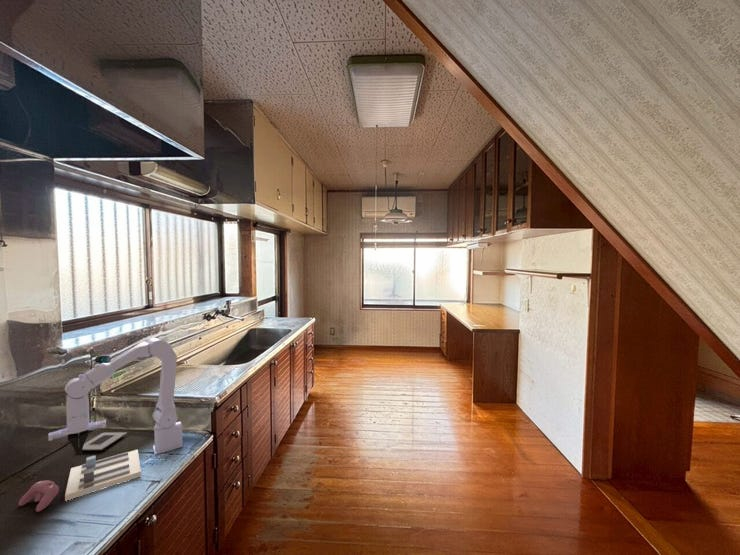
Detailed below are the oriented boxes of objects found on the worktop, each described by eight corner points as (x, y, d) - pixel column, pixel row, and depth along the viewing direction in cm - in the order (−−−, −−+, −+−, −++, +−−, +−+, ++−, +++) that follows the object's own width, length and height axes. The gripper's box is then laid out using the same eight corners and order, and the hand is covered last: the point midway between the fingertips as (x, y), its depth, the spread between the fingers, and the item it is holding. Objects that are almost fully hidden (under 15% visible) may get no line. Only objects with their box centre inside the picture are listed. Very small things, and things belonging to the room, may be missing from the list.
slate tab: (95, 463, 116) (95, 455, 116) (95, 466, 114) (95, 458, 114) (86, 466, 115) (86, 457, 115) (86, 469, 113) (86, 460, 113)
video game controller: (53, 510, 99) (65, 483, 102) (35, 513, 95) (48, 484, 98) (33, 503, 102) (45, 477, 105) (15, 505, 98) (28, 478, 101)
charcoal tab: (94, 477, 108) (93, 468, 108) (93, 480, 106) (93, 471, 106) (84, 480, 107) (84, 471, 107) (84, 483, 105) (83, 474, 105)
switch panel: (137, 454, 126) (137, 447, 126) (140, 477, 112) (140, 469, 112) (71, 473, 114) (71, 465, 114) (65, 501, 100) (64, 492, 100)
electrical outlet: (101, 454, 127) (101, 448, 127) (74, 454, 128) (74, 448, 127) (127, 437, 141) (127, 431, 140) (102, 437, 141) (102, 431, 141)
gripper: (105, 405, 119) (106, 442, 119) (49, 416, 110) (51, 456, 110) (105, 411, 113) (106, 450, 113) (46, 423, 104) (48, 466, 104)
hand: (79, 454), depth 111 cm, fingers closed
